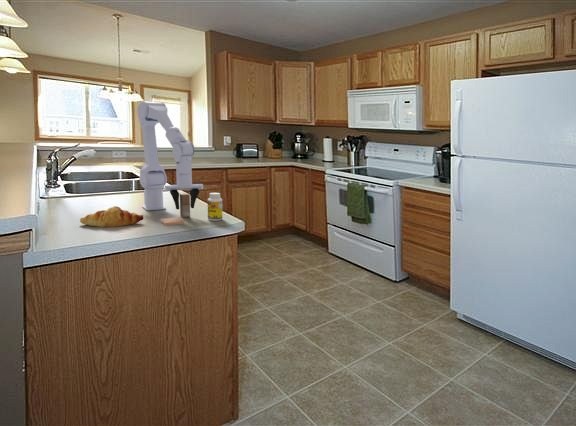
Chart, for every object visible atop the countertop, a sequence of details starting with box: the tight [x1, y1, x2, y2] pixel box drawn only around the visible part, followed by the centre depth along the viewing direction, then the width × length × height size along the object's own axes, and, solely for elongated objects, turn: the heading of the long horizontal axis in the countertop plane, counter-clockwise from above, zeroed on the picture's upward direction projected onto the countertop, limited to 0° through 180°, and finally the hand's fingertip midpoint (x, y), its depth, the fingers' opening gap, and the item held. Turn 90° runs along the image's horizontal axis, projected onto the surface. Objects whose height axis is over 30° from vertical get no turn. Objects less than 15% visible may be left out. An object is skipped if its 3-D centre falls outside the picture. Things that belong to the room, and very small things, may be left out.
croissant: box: [79, 205, 144, 228], centre depth 146 cm, size 21×10×8 cm
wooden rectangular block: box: [179, 193, 191, 219], centre depth 160 cm, size 3×3×9 cm
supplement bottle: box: [207, 192, 223, 222], centre depth 157 cm, size 6×6×10 cm
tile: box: [160, 217, 185, 226], centre depth 152 cm, size 1×7×7 cm
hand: (185, 208), depth 161 cm, fingers open, 5 cm apart
